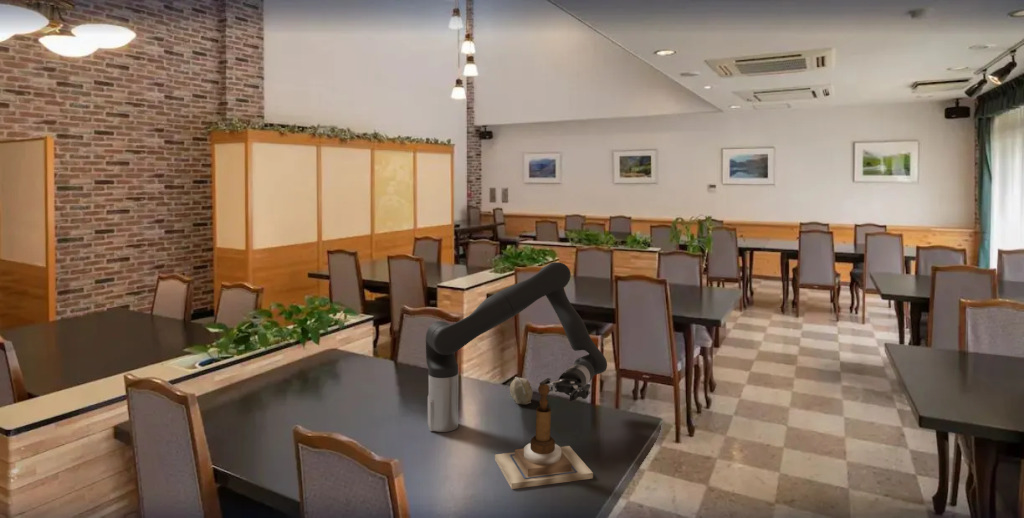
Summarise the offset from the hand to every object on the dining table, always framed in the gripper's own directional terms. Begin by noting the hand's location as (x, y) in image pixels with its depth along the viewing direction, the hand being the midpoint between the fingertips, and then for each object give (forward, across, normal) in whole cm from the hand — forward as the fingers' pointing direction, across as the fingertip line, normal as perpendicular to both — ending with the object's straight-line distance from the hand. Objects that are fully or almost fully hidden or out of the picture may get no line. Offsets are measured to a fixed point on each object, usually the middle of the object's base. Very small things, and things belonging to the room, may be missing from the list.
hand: (556, 396), depth 171 cm
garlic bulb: (-34, -25, +17) cm, 46 cm away
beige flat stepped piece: (+10, 0, +17) cm, 20 cm away
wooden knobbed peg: (+10, 0, +12) cm, 15 cm away
